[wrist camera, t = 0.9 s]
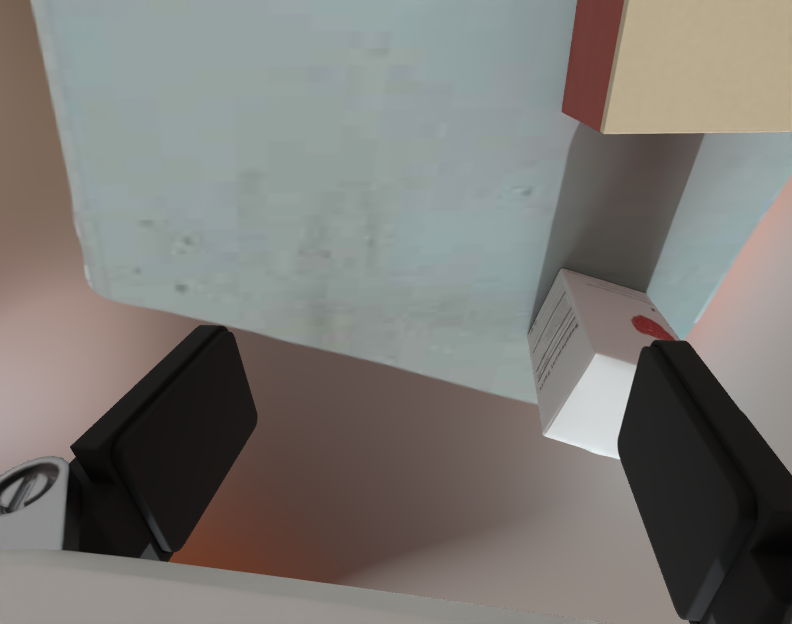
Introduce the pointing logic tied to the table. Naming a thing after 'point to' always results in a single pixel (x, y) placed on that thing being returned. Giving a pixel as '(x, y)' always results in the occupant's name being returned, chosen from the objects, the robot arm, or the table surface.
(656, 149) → the table surface
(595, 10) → the red open box
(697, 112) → the lid
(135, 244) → the table surface
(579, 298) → the rectangular carton
